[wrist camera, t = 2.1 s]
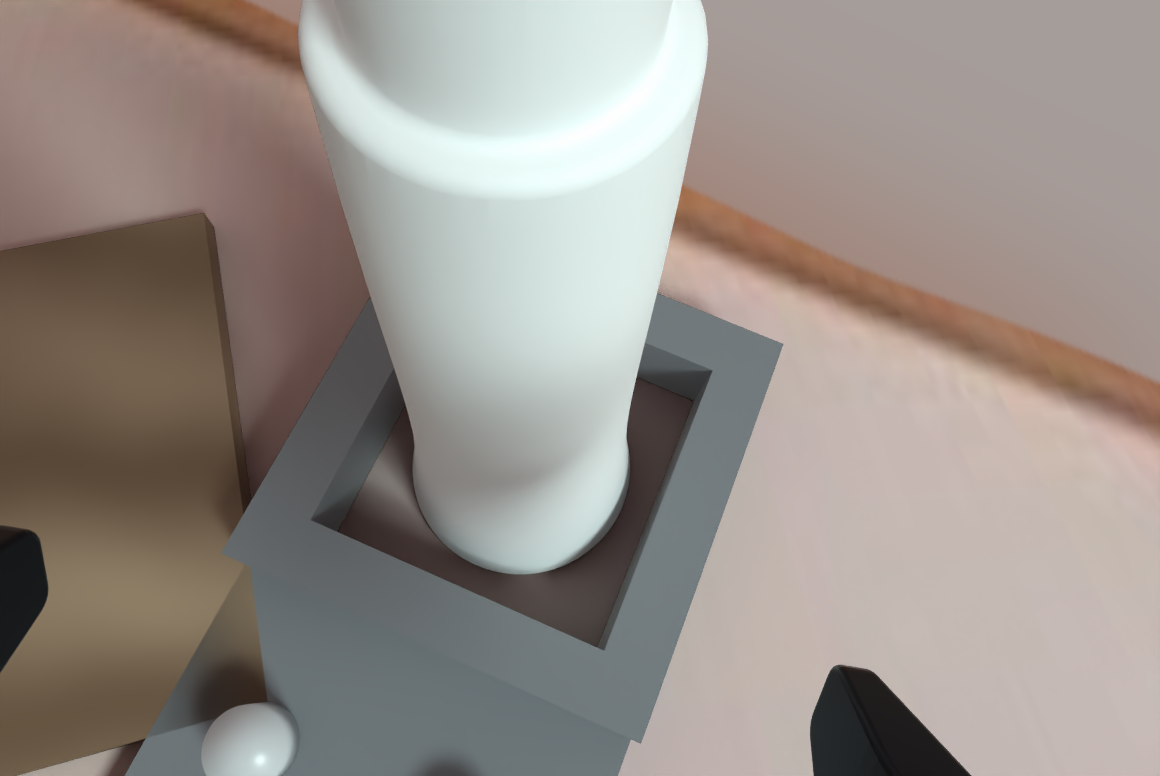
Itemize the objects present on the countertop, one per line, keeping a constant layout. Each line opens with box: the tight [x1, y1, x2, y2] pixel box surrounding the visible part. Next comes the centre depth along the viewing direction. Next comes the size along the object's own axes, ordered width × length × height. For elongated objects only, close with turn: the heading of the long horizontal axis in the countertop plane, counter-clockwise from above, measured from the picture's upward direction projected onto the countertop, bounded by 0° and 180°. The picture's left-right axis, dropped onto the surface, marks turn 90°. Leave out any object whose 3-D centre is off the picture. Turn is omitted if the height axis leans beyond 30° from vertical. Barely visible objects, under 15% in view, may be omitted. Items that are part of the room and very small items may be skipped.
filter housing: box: [125, 293, 783, 776], centre depth 19 cm, size 18×11×2 cm, turn 157°
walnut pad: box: [0, 213, 268, 776], centre depth 20 cm, size 14×12×1 cm
